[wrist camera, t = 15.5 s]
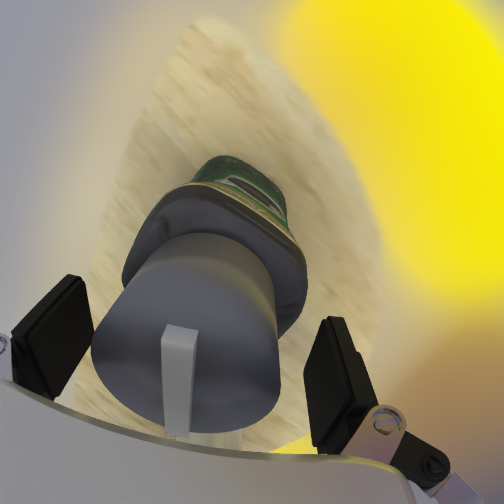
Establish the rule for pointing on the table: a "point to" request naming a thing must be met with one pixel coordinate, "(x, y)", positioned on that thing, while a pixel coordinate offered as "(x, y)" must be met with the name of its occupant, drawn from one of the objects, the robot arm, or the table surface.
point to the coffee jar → (231, 227)
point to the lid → (193, 338)
